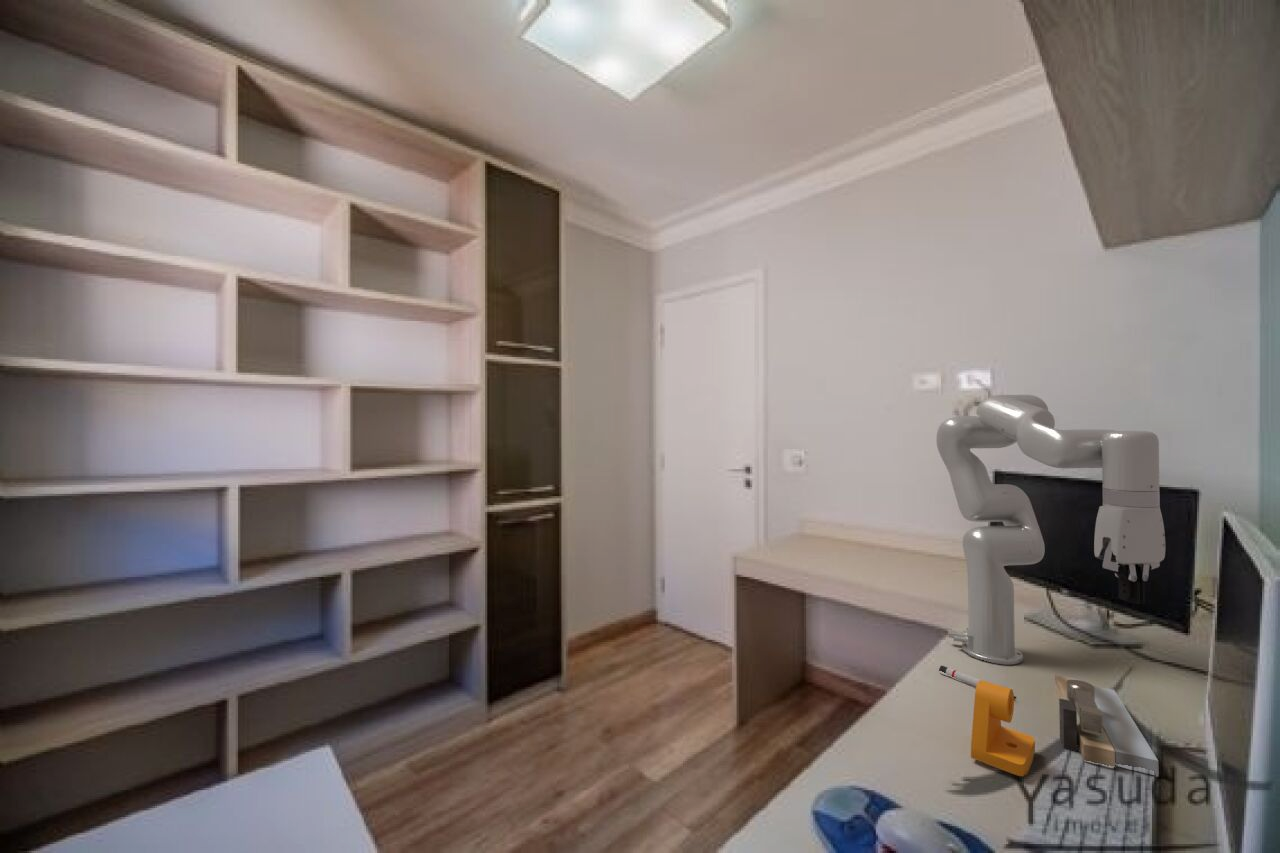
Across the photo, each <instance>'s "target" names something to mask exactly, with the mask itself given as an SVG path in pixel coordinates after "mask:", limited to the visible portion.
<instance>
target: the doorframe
mask: <svg viewBox="0 0 1280 853" xmlns="http://www.w3.org/2000/svg"><path fill="white" fill-rule="evenodd" d="M1068 680H1079V679H1077V678H1071V677H1068V676H1067V677H1066V676H1062V675H1061V676H1060V675H1056V674H1054V690H1055V693H1056V695H1057V698H1058V700H1059V701H1058V702H1059V703H1058V704H1059V705H1058V707H1059V708H1058V709H1059V711H1058V712H1059V739H1060V741H1061V744H1062V747H1063V749H1065V750H1069V751H1073V752H1078V751H1079V750H1080V751H1079V753H1080V752H1081V753H1080V755H1081V754H1082V756H1081V757H1083V758H1082V760H1083V759H1084V760H1086V761H1091V762H1094V763H1101V764H1104V765H1107V766H1109V765H1110V766H1115V763H1116V764H1121V765H1128V766H1132V767H1141V768H1145V769H1149V770H1152V771H1154V772H1155V774H1156V776H1155V777H1156V778H1159V774H1160V773H1159V760H1158V758H1157V757H1156V754H1155V753H1154V752H1153V749H1152V748H1151V747H1150V745H1149V744H1148V742H1147V740H1146V738H1145V737H1144V735H1143V734H1142V732H1141V731H1140V729H1139V727H1138V725H1137V724H1136V723H1135V721H1134V719H1133V717H1132V716H1131V714H1130V713H1129V711H1128V710H1127V708H1126V706H1125V705H1124V703H1123V701H1122V700H1121V698H1120V697H1119V695H1118V693H1117V692H1116V690H1115V689H1111V688H1106V687H1100V686H1095V685H1093V686H1094V689H1095V703H1096V705H1097V708H1098V709H1101V712H1102V714H1103V736H1101V735H1096V734H1092V733H1088V732H1084V731H1081V728H1080V718H1079V715H1078V713H1077V710H1076V707H1075V704H1074V702H1072V701H1070V700H1069V699H1068V698H1067V681H1068ZM1077 745H1078V746H1077ZM1078 747H1079V748H1078ZM1115 767H1116V766H1115Z"/></svg>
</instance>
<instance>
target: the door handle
mask: <svg viewBox="0 0 1280 853" xmlns="http://www.w3.org/2000/svg"><path fill="white" fill-rule="evenodd" d="M1094 686H1095V685H1093V684H1091V683H1089V682H1086V681H1084V680H1080V679H1078V680H1068V681H1067V698H1068V699H1069V700H1070V701H1072V702H1074V704H1075V707H1076V710H1077V713H1078V715H1079V718H1080V728H1081V731H1084V732H1088V733H1092V734H1096V735H1101V736H1103V714H1102V712H1101V709H1098V708H1097V705H1096V703H1095V689H1094Z"/></svg>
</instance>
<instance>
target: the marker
mask: <svg viewBox="0 0 1280 853" xmlns="http://www.w3.org/2000/svg"><path fill="white" fill-rule="evenodd" d="M939 666H940V667H939V668H938V672H939V671H942V672H944V673H946V674H947V675H950V676H952V677H954V678H956V679H958V680H961V681H963V682H965V683H968V684H970V685H972V686H971V687H973V686H974V687H973V688H976V686H977V683H978V681H979V680H982V679H980V678H977V677H974V676H973V675H969V674H967V673H963V672H962V671H959V670H955V669H953V668H951V667H948V666H944V665H939ZM958 680H957V681H958ZM982 681H984V680H982ZM963 682H962V683H963ZM965 683H964V684H965ZM968 684H967V685H968ZM970 685H969V686H970ZM1016 699H1017V696H1015V695H1014V700H1016Z"/></svg>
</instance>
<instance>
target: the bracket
mask: <svg viewBox="0 0 1280 853" xmlns="http://www.w3.org/2000/svg"><path fill="white" fill-rule="evenodd" d="M1014 696H1015V694H1014V689H1012V688H1009V687H1006V686H1005V687H1004V686H1002V685H1000V684H999V685H998V684H995V683H992V682H988V681H985V680H983V681H982V679H980V680H979V681H978V683H977V686H976V687H975V691H974V705H973V714H972V729H971V741H970V757H971V759H973V760H976V761H979V762H982V763H984V764H987V765H989V766H992V767H994V768H997V769H999V770H1002V771H1004V772H1007V773H1010V774H1013V775H1015V776H1018V777H1024V776H1027V775H1028V773H1029V771H1030V768H1031V765H1032V764H1033V761H1034V754H1035V752H1036V739H1035V737H1033V736H1032V735H1029V734H1026V733H1023V732H1020V731H1018V730H1014V729H1011V728H1010V727H1009V728H1008V727H1005V726H1003V725H1002V721H1003V722H1004V723H1008V724H1010V723H1011V722H1012V720H1013V716H1014V708H1015V707H1014V706H1015V699H1014Z"/></svg>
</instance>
